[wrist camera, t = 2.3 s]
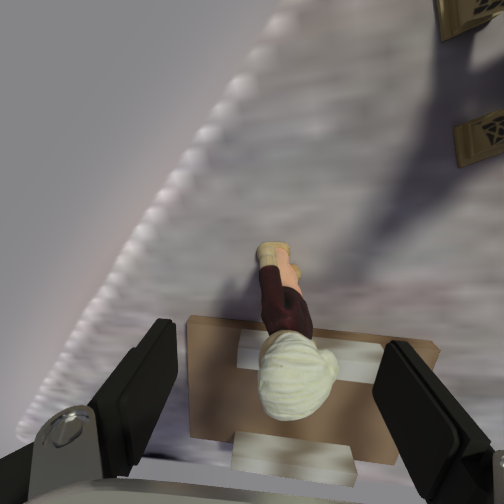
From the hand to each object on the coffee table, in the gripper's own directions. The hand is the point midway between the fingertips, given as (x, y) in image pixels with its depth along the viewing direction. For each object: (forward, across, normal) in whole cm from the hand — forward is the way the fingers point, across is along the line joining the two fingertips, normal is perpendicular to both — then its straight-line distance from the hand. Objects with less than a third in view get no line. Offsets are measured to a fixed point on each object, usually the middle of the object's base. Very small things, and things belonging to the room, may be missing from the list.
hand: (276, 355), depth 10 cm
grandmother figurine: (+10, -1, 0) cm, 10 cm away
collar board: (+10, -4, +13) cm, 17 cm away
